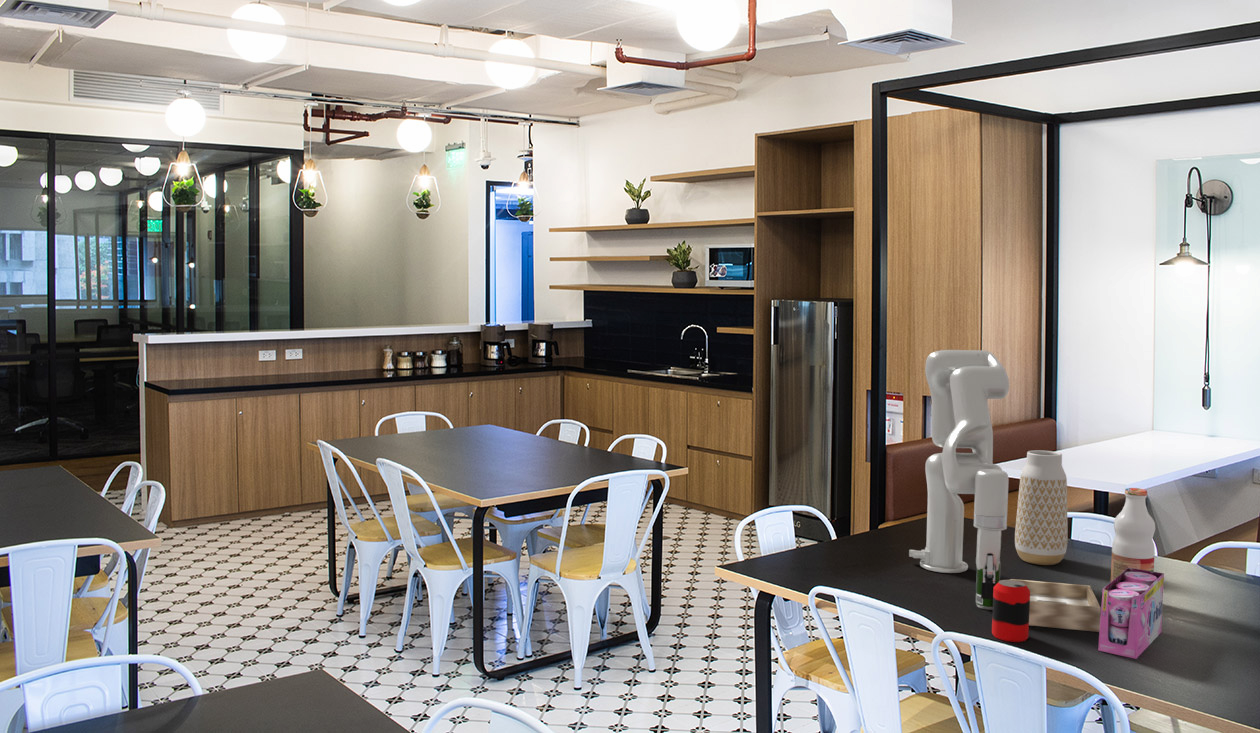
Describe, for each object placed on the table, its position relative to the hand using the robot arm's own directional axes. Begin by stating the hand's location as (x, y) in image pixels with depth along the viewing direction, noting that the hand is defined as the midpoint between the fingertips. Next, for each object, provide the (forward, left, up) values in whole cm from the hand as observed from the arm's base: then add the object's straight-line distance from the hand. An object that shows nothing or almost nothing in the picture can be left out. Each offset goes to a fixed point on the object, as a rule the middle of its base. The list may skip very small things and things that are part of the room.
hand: (987, 594), depth 251 cm
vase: (+16, +49, -3) cm, 52 cm away
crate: (+14, -2, -3) cm, 15 cm away
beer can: (0, 0, -3) cm, 3 cm away
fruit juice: (+34, +15, -3) cm, 37 cm away
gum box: (+29, -16, -3) cm, 33 cm away
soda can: (+4, -21, -3) cm, 22 cm away
